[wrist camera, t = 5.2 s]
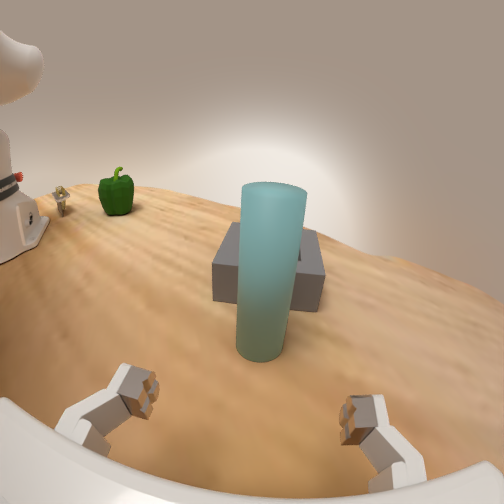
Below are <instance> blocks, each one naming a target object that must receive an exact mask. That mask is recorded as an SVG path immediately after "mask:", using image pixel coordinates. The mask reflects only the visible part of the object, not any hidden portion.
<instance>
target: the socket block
mask: <svg viewBox="0 0 504 504" xmlns="http://www.w3.org/2000/svg"><path fill="white" fill-rule="evenodd" d="M239 242H240V223H237V222H232V224H231V226H230V228H229V230H228V232H227V234H226V236H225V238H224V240H223V242H222V244H221V246H220V248H219V250H218V252H217V254H216V256H215V258H214V260H213V262H212V288H213V301H220V302H227V303H235V304H237V295H238V267H239ZM325 276H326V275H325V270H324V266H323V261H322V256H321V252H320V247H319V243H318V238H317V234H316V231H314V230H305V229H302V236H301V243H300V250H299V256H298V263H297V269H296V275H295V281H294V287H293V293H292V299H291V304H290V310H298V311H309V312H317V309H318V305H319V301H320V297H321V293H322V289H323V284H324V280H325Z"/></svg>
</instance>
